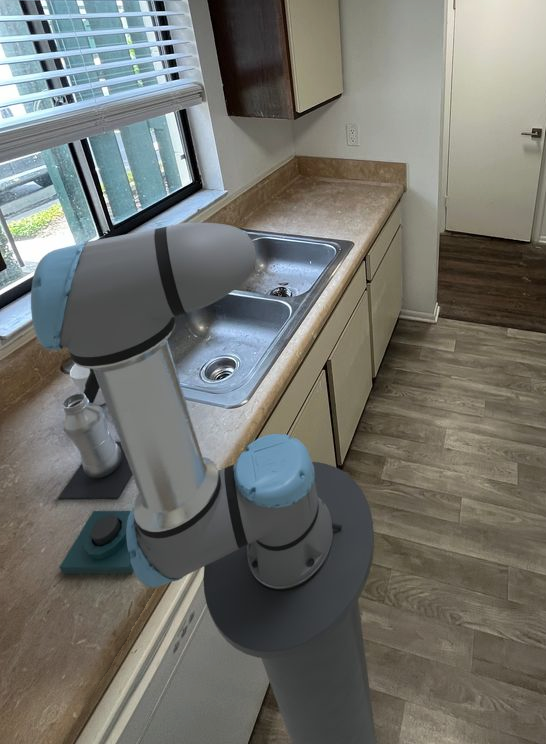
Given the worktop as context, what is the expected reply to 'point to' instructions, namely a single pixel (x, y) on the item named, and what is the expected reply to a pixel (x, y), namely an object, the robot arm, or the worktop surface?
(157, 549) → the robot arm
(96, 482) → the mat
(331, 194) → the worktop surface
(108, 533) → the button
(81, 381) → the white cup
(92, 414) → the silver bottle
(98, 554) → the teal pump base
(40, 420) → the worktop surface
